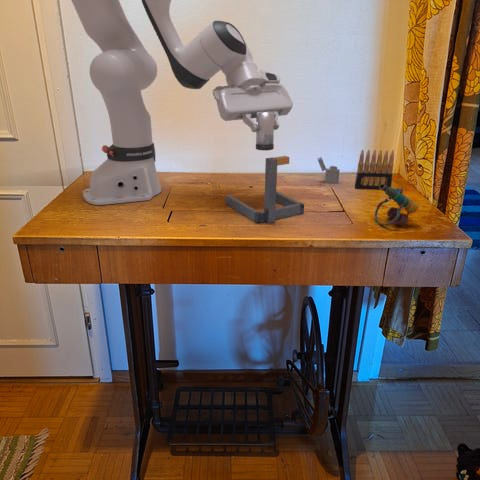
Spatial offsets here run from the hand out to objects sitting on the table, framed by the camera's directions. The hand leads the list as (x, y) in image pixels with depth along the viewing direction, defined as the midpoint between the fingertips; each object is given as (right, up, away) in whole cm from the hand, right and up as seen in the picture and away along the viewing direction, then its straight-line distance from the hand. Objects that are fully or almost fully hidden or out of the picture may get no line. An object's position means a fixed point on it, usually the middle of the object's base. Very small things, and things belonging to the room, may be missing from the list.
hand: (266, 129), depth 110 cm
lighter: (+21, -9, +31) cm, 39 cm away
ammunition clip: (+34, -12, +26) cm, 44 cm away
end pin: (0, -4, +2) cm, 5 cm away
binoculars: (+32, -23, 0) cm, 40 cm away
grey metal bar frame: (0, -19, +8) cm, 21 cm away
